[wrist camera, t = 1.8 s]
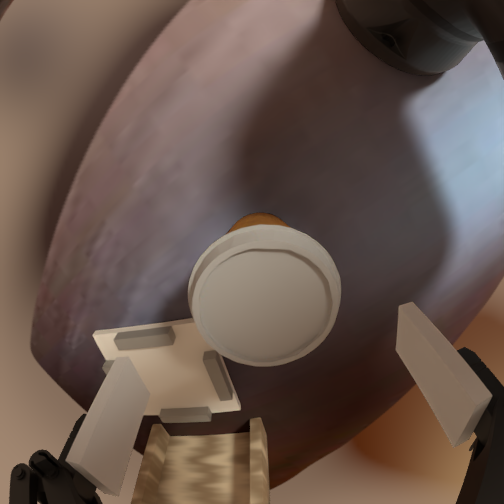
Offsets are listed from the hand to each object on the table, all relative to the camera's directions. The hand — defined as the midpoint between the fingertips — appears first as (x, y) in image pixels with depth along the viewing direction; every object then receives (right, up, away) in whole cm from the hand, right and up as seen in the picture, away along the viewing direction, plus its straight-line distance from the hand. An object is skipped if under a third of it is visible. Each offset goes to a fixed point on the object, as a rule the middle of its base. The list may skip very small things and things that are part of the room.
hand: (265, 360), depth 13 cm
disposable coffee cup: (0, +6, +15) cm, 16 cm away
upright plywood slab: (-7, -22, +25) cm, 34 cm away
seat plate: (-11, -10, +21) cm, 26 cm away
